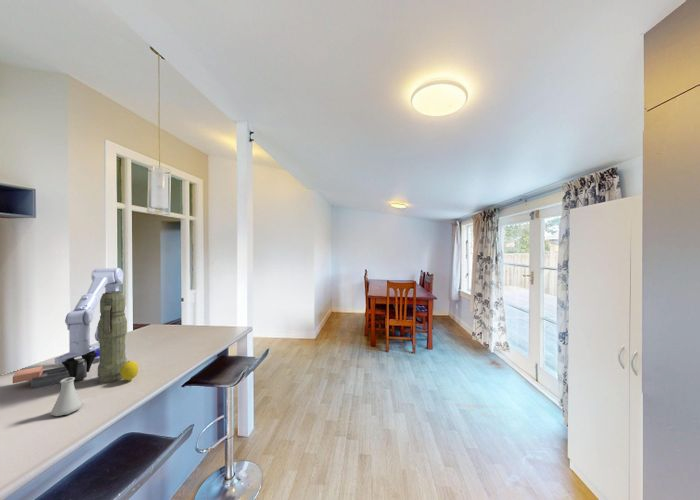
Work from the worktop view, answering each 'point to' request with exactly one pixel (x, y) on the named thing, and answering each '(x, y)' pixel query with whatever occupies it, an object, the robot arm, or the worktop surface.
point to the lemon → (129, 370)
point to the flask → (67, 399)
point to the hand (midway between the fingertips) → (79, 374)
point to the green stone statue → (111, 336)
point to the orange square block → (27, 374)
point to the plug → (81, 369)
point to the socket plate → (50, 377)
